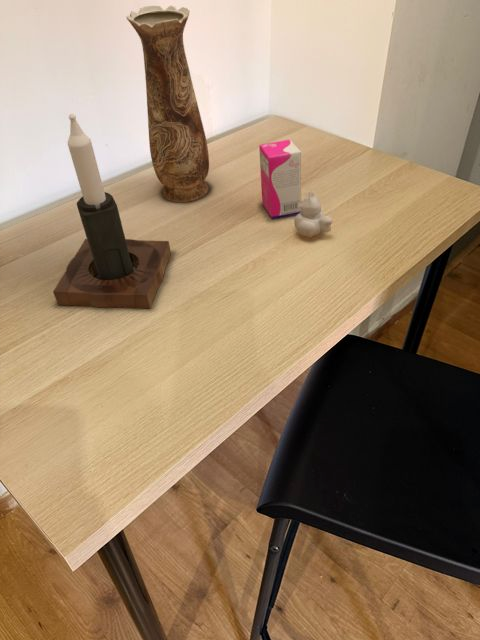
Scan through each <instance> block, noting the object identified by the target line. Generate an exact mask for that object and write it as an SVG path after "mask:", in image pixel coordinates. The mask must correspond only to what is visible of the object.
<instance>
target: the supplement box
mask: <svg viewBox="0 0 480 640" xmlns="http://www.w3.org/2000/svg"><path fill="white" fill-rule="evenodd" d="M258 146H259V166H260V181H261V182H260V184H261V187H260V188H261V204H262V207H263V208H264V210H265V212H266V213H267V215H268V216H269V218H270V220H272V221H273V220H277V219H282V218H287V217H293V216H297V215H298V214H299V213H300V212H301V211H300V209H301V208H300V207H299V205H300V204H301V203H302V151H301V150H300V148H298V147H297V146H296V145H295V143H293V141H292V140H291V139H284V140H281V141H274V142H268V143H262V144H259V145H258Z"/></svg>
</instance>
